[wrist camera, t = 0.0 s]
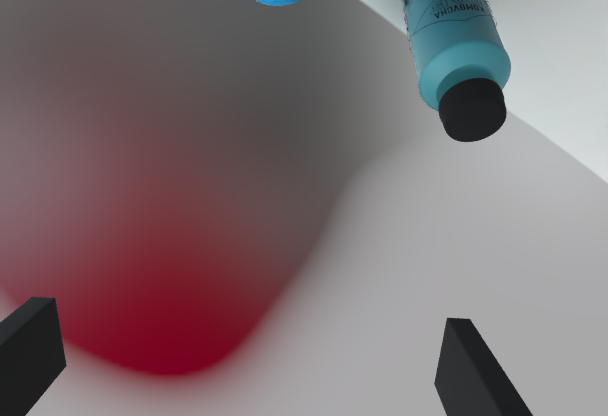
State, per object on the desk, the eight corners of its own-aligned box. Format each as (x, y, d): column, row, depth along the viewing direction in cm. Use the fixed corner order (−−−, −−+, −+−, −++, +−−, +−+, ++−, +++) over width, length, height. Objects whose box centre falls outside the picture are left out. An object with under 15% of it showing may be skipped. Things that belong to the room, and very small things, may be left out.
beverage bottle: (475, -8, 39) (536, 141, 27) (407, 20, 41) (436, 168, 30) (463, -78, 34) (531, 66, 23) (387, -41, 37) (414, 105, 25)
